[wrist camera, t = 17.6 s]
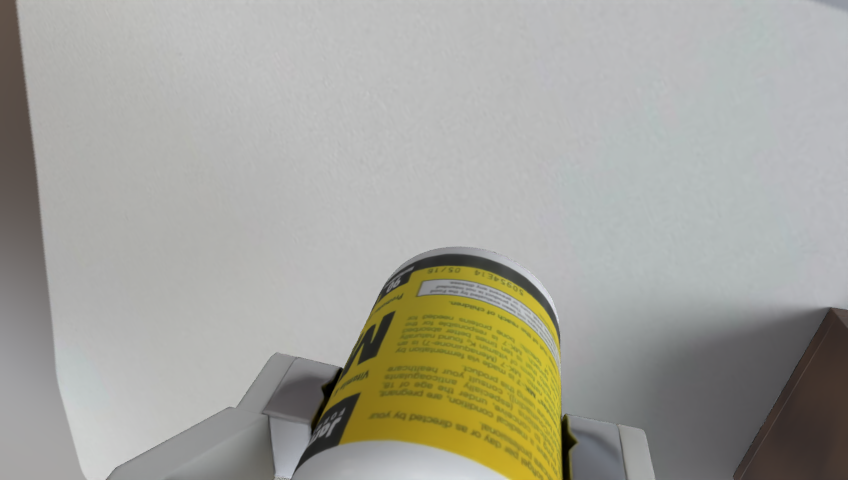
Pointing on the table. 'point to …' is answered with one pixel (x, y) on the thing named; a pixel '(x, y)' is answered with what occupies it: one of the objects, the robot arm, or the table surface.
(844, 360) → the brown wooden open box
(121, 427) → the table surface
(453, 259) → the supplement bottle
